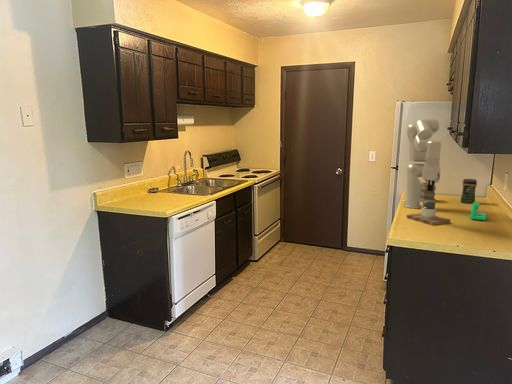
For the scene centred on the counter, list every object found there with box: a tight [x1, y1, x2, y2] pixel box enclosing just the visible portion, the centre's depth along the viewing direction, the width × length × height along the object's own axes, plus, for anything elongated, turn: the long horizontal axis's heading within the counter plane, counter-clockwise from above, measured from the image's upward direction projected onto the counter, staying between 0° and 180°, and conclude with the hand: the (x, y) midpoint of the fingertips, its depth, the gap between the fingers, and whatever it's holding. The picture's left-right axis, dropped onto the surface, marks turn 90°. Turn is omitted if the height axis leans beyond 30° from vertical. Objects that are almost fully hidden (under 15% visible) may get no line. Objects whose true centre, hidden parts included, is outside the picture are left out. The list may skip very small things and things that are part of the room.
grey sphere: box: [422, 200, 436, 209], centre depth 228 cm, size 7×7×7 cm
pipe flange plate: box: [406, 206, 452, 226], centre depth 229 cm, size 20×15×8 cm
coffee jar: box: [460, 178, 478, 205], centre depth 281 cm, size 10×8×19 cm
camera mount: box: [470, 202, 488, 221], centre depth 233 cm, size 12×8×10 cm, turn 142°
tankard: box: [420, 181, 437, 202], centre depth 291 cm, size 20×13×15 cm, turn 68°
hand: (429, 190), depth 227 cm, fingers closed
